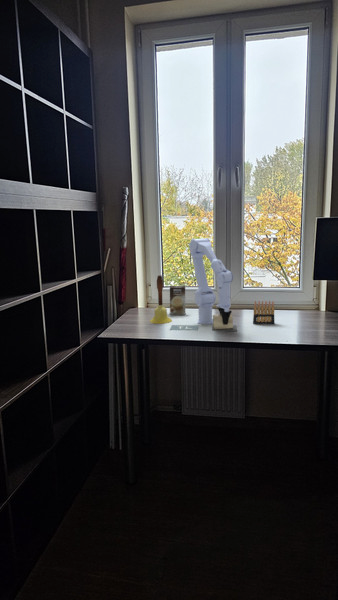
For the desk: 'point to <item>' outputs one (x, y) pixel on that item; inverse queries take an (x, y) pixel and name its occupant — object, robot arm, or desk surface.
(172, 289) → the coffee box
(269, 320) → the ammunition clip
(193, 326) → the blue-grey flat slab
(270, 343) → the desk surface
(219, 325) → the maple block
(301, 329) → the desk surface
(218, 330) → the rubber mat
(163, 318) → the handbell
